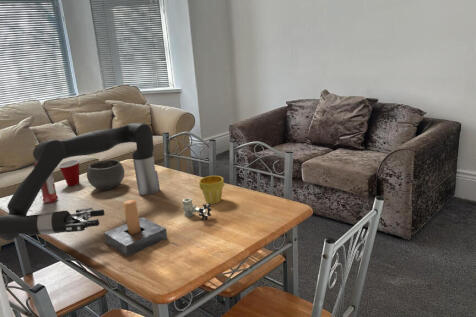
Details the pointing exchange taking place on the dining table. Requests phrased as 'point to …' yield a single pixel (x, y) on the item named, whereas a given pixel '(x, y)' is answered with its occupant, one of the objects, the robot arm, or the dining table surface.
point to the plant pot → (212, 188)
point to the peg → (132, 217)
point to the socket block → (135, 237)
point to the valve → (195, 209)
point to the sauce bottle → (48, 189)
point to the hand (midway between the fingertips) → (101, 217)
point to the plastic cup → (70, 172)
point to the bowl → (105, 174)
